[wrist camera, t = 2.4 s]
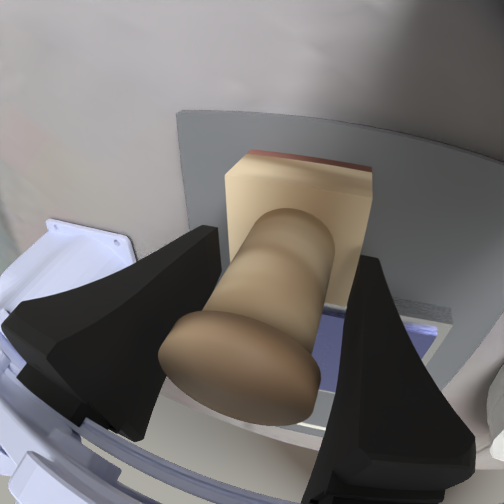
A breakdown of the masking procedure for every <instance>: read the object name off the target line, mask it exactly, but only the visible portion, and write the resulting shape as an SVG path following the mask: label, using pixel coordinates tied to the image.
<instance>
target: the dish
mask: <svg viewBox="0 0 504 504" xmlns="http://www.w3.org/2000/svg"><path fill="white" fill-rule="evenodd" d="M486 404H487V423H488V425H489V428H490V450H489V451H490V453H491V455H492V457H493V458H495V459H498V460H501V461H504V365H503V366H502V367H501V368H500V370H499V372H498V374H497V375H496V377H495V379H494V381H493V382H492V384H491V386H490V387H489V392H488V397H487V402H486Z"/></svg>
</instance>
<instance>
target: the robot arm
mask: <svg viewBox="0 0 504 504" xmlns="http://www.w3.org/2000/svg"><path fill="white" fill-rule="evenodd" d="M46 226H47V228H48V232H47V233H46V234H44V235H43V236H42V237H41V238H40V239H39V240H38V241H36V242H35V243H34V244H33V245H32V246H31V247H30V248H29V249H27V250H26V251H25V252H24V253H23V254H22V255H21V256H20V257H19V258H18V259H17V260H16V261H14V262H13V263H12V264H11V265H10V266H9V267H8V268H7V269H6V270H5V271H4V273H3V274H2V275H1V277H0V475H5V476H11V478H10V480H9V482H8V488H9V490H10V492H11V494H12V495H13V496H14V497H15V499H16V501H15V503H14V504H161V503H159V502H157V501H155V500H153V499H151V498H149V497H147V496H145V495H143V494H141V493H139V492H137V491H135V490H133V489H131V488H129V487H127V486H125V485H124V484H122V483H120V482H118V481H117V479H118V477H119V475H120V474H121V469H120V468H118V467H117V466H115V465H113V464H112V463H110V462H108V461H107V460H105V459H104V458H102V457H101V456H99V455H98V454H96V453H95V452H93V451H92V450H90V449H89V448H87V447H86V446H84V445H83V444H82V443H81V437H80V436H82V437H83V438H85V439H87V440H88V441H89V442H91V443H93V444H94V445H96V446H97V447H99V448H101V449H102V450H104V451H105V452H107V453H109V454H111V455H112V456H114V457H116V458H117V459H119V460H121V461H123V462H125V463H126V464H128V465H130V466H132V467H134V468H136V469H138V470H140V471H141V472H143V473H145V474H147V475H149V476H152V477H153V478H155V479H158V480H160V481H162V482H164V483H166V484H168V485H171V486H173V487H175V488H178V489H180V490H182V491H184V492H187V493H189V494H192V495H194V496H197V497H200V498H202V499H205V500H207V501H210V502H213V503H216V504H300V503H295V502H291V501H286V500H282V499H278V498H273V497H269V496H266V495H262V494H258V493H255V492H251V491H247V490H245V489H241V488H238V487H235V486H232V485H228V484H226V483H223V482H220V481H217V480H214V479H211V478H208V477H206V476H203V475H201V474H198V473H195V472H193V471H191V470H188V469H186V468H183V467H181V466H178V465H176V464H174V463H171V462H169V461H167V460H165V459H163V458H160V457H158V456H156V455H154V454H152V453H150V452H148V451H146V450H144V449H142V448H140V447H138V446H136V445H134V444H132V443H130V442H128V441H126V440H125V439H123V438H121V437H119V436H117V435H115V434H114V433H112V432H110V431H108V429H109V430H111V431H113V432H115V433H117V434H120V435H122V436H124V437H126V438H128V439H130V440H131V441H133V442H137V441H140V440H143V439H144V436H145V433H146V429H147V426H148V423H149V420H150V417H151V414H152V411H153V408H154V406H155V403H156V400H157V397H158V395H159V393H160V390H161V388H162V385H163V383H164V380H165V378H166V376H167V375H166V374H165V372H164V371H163V369H162V367H161V365H160V363H159V359H158V351H159V349H160V347H161V345H162V344H163V342H164V340H165V339H166V337H167V336H168V334H169V333H170V331H171V329H172V328H173V326H174V325H175V323H176V322H177V321H178V320H179V319H180V318H181V317H183V316H184V315H186V314H189V313H192V312H196V311H202V310H203V308H204V306H205V305H206V303H207V301H208V300H209V298H210V296H211V295H212V293H213V291H214V288H215V286H216V284H217V282H218V279H219V277H220V275H221V272H222V266H221V255H220V245H219V233H218V227H214V226H208V225H201V226H199V227H197V228H195V229H193V230H191V231H190V232H188V233H186V234H184V235H183V236H181V237H179V238H178V239H176V240H174V241H173V242H171V243H169V244H168V245H166V246H164V247H162V248H161V249H159V250H157V251H156V252H154V253H152V254H150V255H148V256H146V257H145V258H143V259H141V260H139V261H137V262H136V259H135V255H134V252H133V248H132V245H131V242H130V240H129V238H128V237H126V236H124V235H120V234H116V233H112V232H107V231H103V230H98V229H94V228H89V227H85V226H81V225H76V224H72V223H67V222H63V221H59V220H54V219H48V220H47V221H46ZM475 460H476V444H475V436H474V435H473V433H472V432H471V431H470V430H469V428H468V427H467V426H466V425H465V423H464V422H463V421H462V420H461V418H460V417H459V416H458V415H457V414H456V412H455V411H454V410H453V408H452V407H451V405H450V404H449V403H448V401H447V400H446V398H445V397H444V396H443V394H442V393H441V391H440V389H439V388H438V386H437V385H436V383H435V382H434V380H433V378H432V377H431V375H430V374H429V372H428V371H427V369H426V367H425V365H424V364H423V362H422V360H421V358H420V356H419V355H418V353H417V351H416V349H415V347H414V345H413V343H412V341H411V339H410V337H409V335H408V333H407V331H406V329H405V326H404V324H403V322H402V320H401V317H400V315H399V313H398V310H397V308H396V305H395V303H394V300H393V298H392V295H391V293H390V290H389V287H388V284H387V282H386V279H385V276H384V273H383V269H382V266H381V263H380V260H379V259H378V258H375V257H370V256H365V255H360V257H359V261H358V265H357V269H356V273H355V276H354V280H353V284H352V287H351V291H350V294H349V298H348V303H347V309H346V314H345V319H344V324H343V335H342V345H341V355H340V364H339V372H338V380H337V386H336V392H335V396H334V400H333V404H332V408H331V412H330V416H329V419H328V423H327V427H326V430H325V434H324V437H323V440H322V444H321V447H320V450H319V453H318V456H317V459H316V462H315V465H314V468H313V471H312V474H311V477H310V480H309V482H308V485H307V488H306V490H305V493H304V495H303V498H302V501H301V504H438V503H440V502H442V501H443V500H444V495H445V489H448V488H450V487H452V486H455V485H457V484H459V483H462V482H464V481H465V480H467V479H469V478H470V477H471V476H472V474H474V472H475ZM500 504H504V503H500Z"/></svg>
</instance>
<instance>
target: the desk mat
mask: <svg viewBox="0 0 504 504" xmlns="http://www.w3.org/2000/svg"><path fill="white" fill-rule="evenodd" d="M176 119H177V129H178V139H179V148H180V157H181V166H182V174H183V183H184V190H185V198H186V206H187V213H188V220H189V227H190V231H191V230H193V229H195V228H197V227H199V226H201V225H208V226H214V227H218V233H219V245H220V255H221V266H222V272H221V275H220V277H219V279H218V282H217V284H216V286H217V285H218V283H219V281H220V280H221V278H222V276H223V275H224V273H225V271H226V270H227V268H228V266H229V265H230V253H229V238H228V223H227V207H226V190H225V174H226V173H227V172H228V171H229V170H230V169H231V168H232V167H233V166H234V165H235V164H236V163H237V162H238V161H239V160H241V159H242V158H243V157H244V156H245V155H246V154H247V153H248V152H249V151H250V150H251V149H253V150H263V151H271V152H280V153H288V154H295V155H303V156H310V157H317V158H323V159H329V160H335V161H341V162H347V163H353V164H358V165H364V166H369V167H372V190H373V199H372V204H371V209H370V214H369V218H368V223H367V227H366V232H365V236H364V240H363V244H362V249H361V253H360V255H365V256H370V257H375V258H378V259H379V260H380V263H381V266H382V269H383V273H384V276H385V279H386V282H387V284H388V287H389V290H390V293H391V295H392V297H397V298H402V299H407V300H412V301H418V302H423V303H428V304H433V305H438V306H444V307H449V308H451V312H452V318H453V326H452V328H451V329H450V331H449V333H448V334H447V336H446V337H445V339H444V340H443V342H442V343H441V345H440V346H439V348H438V349H437V351H436V352H435V353H434V355H433V356H432V358H431V359H430V360H429V362H428V363H427V365H426V366H425V367H426V369H427V371H428V372H429V374H430V375H431V377H432V378H433V380H434V382H435V383H436V385H437V386H438V388H439V389H440V391H441V390H442V389H443V388H444V387H445V386H446V385H447V384H448V383H449V382H450V380H451V379H452V378H453V377H454V376H455V375H456V374H457V372H458V371H459V370H460V369H461V368H462V366H463V365H464V364H465V363H466V362H467V360H468V359H469V358H470V357H471V355H472V354H473V353H474V352H475V350H476V349H477V348H478V346H479V345H480V344H481V342H482V341H483V340H484V338H485V337H486V336H487V334H488V333H489V331H490V330H491V329H492V327H493V326H494V324H495V323H496V321H497V320H498V319H499V317H500V316H501V314H502V313H503V311H504V162H501V161H498V160H495V159H492V158H489V157H486V156H483V155H480V154H477V153H474V152H471V151H468V150H465V149H461V148H458V147H455V146H451V145H448V144H444V143H440V142H437V141H433V140H429V139H425V138H421V137H417V136H413V135H408V134H404V133H400V132H395V131H390V130H385V129H380V128H375V127H370V126H364V125H359V124H353V123H347V122H340V121H334V120H327V119H319V118H311V117H303V116H293V115H283V114H272V113H258V112H241V111H211V110H182V111H180V112H178V113H176ZM355 273H356V272H355ZM216 286H215V288H216ZM215 288H214V290H215ZM334 396H335V393H330V392H325V391H321V390H319V391H318V395H317V399H316V402H315V406H314V410H313V413H312V414H311V416H310V417H309V418H308V419H306V420H305V421H303V422H300V423H298V424H293V425H287V426H276V427H280V428H284V429H288V430H292V431H296V432H300V433H305V434H309V435H314V436H319V437H324V434H325V430H326V427H327V423H328V419H329V416H330V412H331V408H332V404H333V400H334Z"/></svg>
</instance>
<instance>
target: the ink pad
mask: <svg viewBox="0 0 504 504" xmlns="http://www.w3.org/2000/svg"><path fill="white" fill-rule="evenodd" d="M392 298H393V300H394V303H395V305H396V308H397V310H398V313H399V315H400V317H401V320H402V322H403V324H404V326H405V329H406V331H407V333H408V335H409V337H410V339H411V341H412V343H413V345H414V347H415V349H416V351H417V353H418V355H419V356H420V358H421V360H422V362H423V364H424V365H425V366H426V365H427V363H428V362H429V360H430V359H431V358H432V356H433V355H434V353H435V352H436V351H437V349H438V348H439V346H440V345H441V343H442V342H443V340H444V339H445V337H446V336H447V334H448V333H449V331H450V329H451V328H452V326H453V318H452V312H451V308H449V307H444V306H438V305H433V304H428V303H423V302H418V301H412V300H407V299H402V298H397V297H392ZM347 303H348V301H347ZM346 309H347V305H346V307H344V306H339V305H334V304H329V303H324V307H323V311H322V316H321V320H320V324H319V328H318V332H317V336H316V340H315V344H314V348H313V352H312V357H313V358H314V359H315V361H316V362H317V364H318V366H319V368H320V372H321V383H320V387H319V390H321V391H325V392H330V393H335V392H336V386H337V380H338V372H339V364H340V355H341V345H342V335H343V324H344V319H345V314H346Z"/></svg>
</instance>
